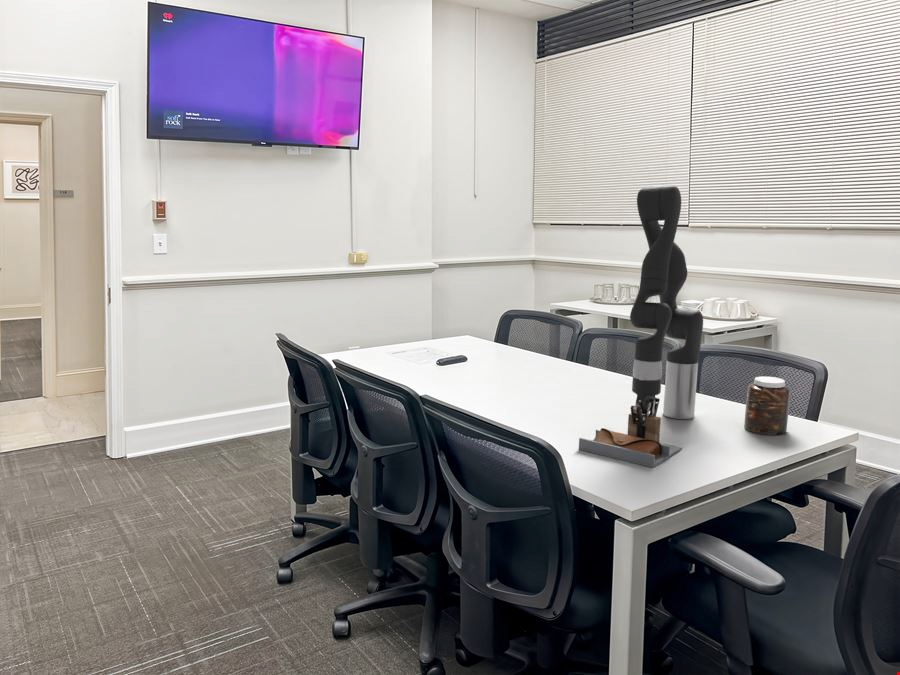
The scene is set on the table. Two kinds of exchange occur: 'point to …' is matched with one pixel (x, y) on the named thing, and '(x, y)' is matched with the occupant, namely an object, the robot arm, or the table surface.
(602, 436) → the sunglasses case
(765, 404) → the jar
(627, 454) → the grey divided tray
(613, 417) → the table surface
